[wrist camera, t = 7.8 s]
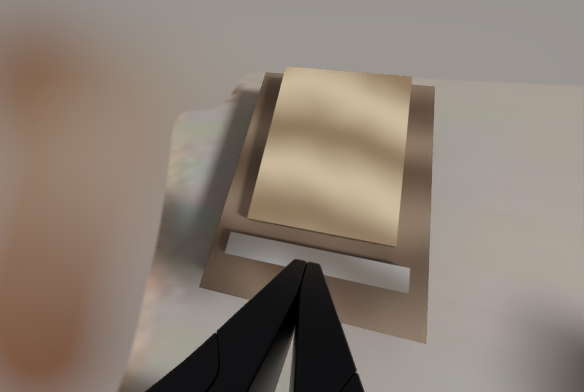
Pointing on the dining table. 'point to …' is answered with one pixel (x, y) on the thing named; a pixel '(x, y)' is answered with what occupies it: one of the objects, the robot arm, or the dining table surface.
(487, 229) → the dining table surface
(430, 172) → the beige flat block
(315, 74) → the oak plank
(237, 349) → the robot arm
